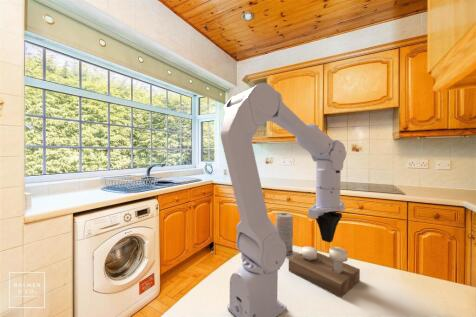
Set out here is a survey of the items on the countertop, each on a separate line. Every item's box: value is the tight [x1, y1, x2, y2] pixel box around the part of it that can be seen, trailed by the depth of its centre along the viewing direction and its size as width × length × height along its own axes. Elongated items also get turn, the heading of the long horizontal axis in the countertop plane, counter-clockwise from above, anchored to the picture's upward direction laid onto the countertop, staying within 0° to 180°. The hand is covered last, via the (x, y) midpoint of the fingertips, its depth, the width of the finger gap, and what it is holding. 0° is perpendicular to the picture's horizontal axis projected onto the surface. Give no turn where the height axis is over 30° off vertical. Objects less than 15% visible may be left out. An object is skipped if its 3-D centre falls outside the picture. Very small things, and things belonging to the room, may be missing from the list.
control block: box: [288, 252, 361, 299], centre depth 55 cm, size 10×14×3 cm
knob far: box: [301, 246, 318, 261], centre depth 58 cm, size 4×4×5 cm
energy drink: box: [275, 212, 294, 256], centre depth 69 cm, size 5×5×12 cm
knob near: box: [328, 246, 349, 274], centre depth 52 cm, size 4×4×5 cm
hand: (327, 240), depth 54 cm, fingers closed
